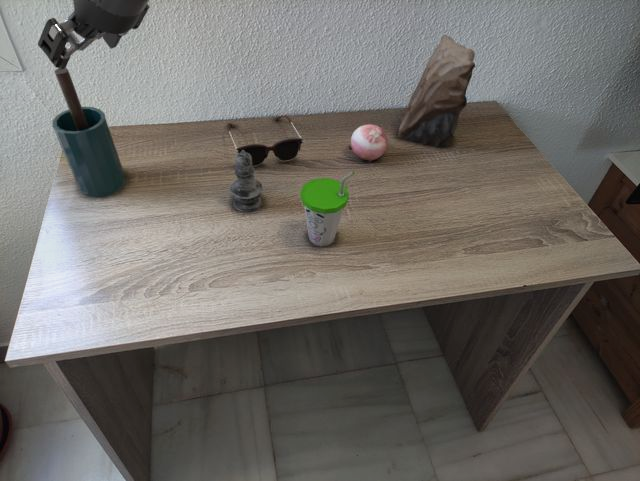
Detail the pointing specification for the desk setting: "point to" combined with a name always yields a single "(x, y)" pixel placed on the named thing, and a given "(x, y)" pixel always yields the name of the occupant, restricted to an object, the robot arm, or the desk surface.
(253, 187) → the chess piece
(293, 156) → the sunglasses
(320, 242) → the cup
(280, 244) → the desk surface
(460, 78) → the brown rock
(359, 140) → the pink round piece
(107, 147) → the pencil holder
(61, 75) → the brush
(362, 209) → the desk surface
